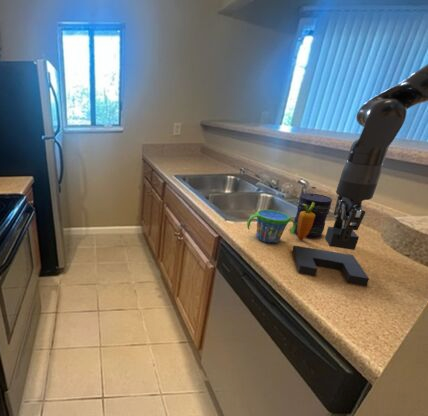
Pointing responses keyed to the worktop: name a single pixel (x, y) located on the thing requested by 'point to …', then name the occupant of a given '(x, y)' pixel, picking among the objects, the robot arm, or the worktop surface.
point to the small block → (333, 240)
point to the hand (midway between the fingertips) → (339, 235)
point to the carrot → (305, 221)
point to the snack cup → (271, 225)
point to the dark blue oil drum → (319, 210)
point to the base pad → (329, 263)
